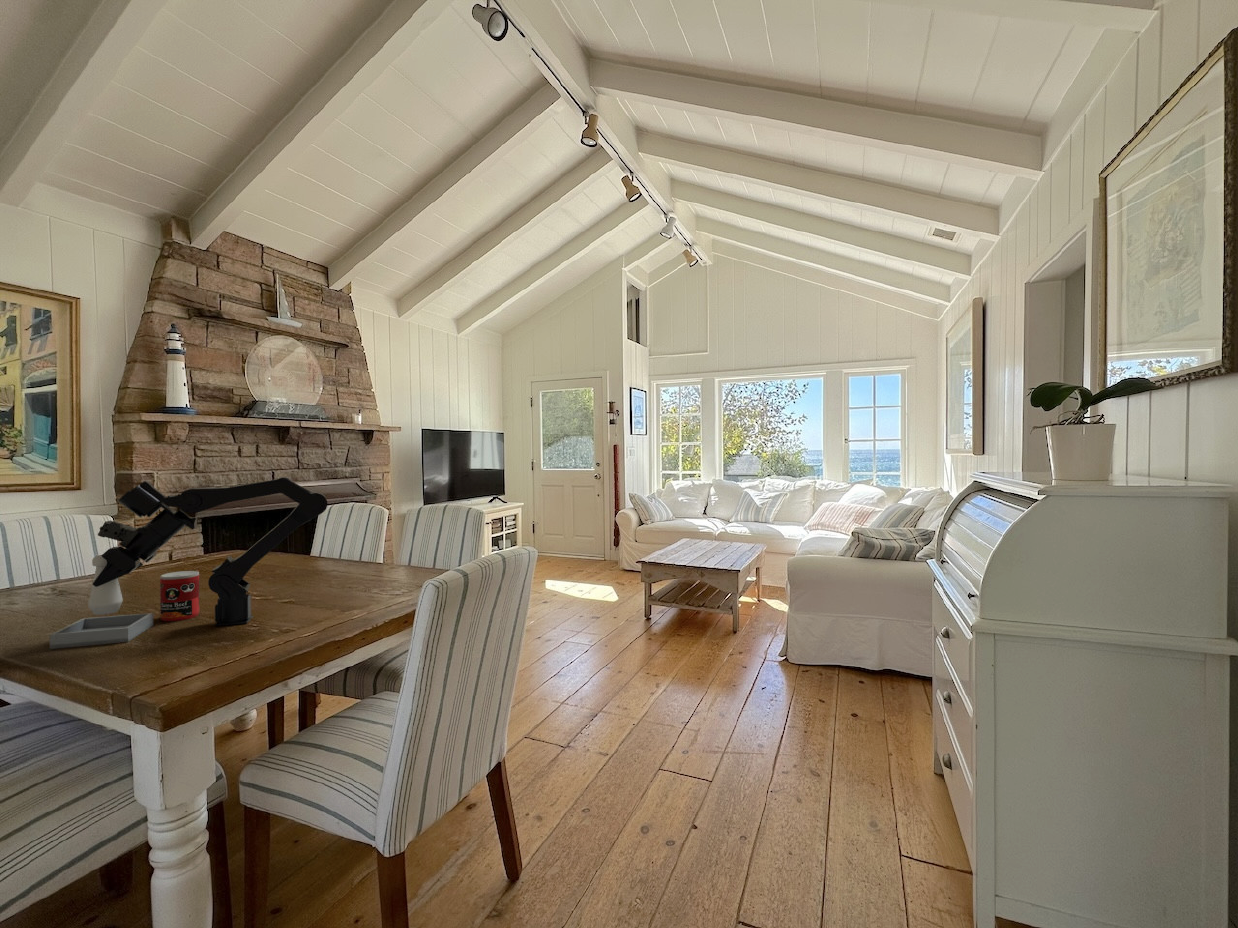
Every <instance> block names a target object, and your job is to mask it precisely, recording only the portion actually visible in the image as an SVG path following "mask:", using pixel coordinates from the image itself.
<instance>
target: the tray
mask: <svg viewBox="0 0 1238 928" xmlns="http://www.w3.org/2000/svg"><path fill="white" fill-rule="evenodd" d="M153 626H154V612H149V613H136V614H134V613H133V614H122V615H121V614H120V615H112V616H99V617H98V616H97V617H95V616H94V617H86V618H81V619H79V620H77V621H75V622H73V623H71V624H69V625H67V626H65V627H63V628H61V629H58V630H57V631H54V632H52V633H50V634H49V650H54V649H66V648H77V647H85V646H96V645H98V646H99V645H108V644H120V643H129V642H130V641H132V640H133V639H135V638H136V637H138V636H139V635H140V634H141V635H142V634H143V633H144V632H145V631H147V630H149V629H150V628H151V627H153Z"/></svg>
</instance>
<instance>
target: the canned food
mask: <svg viewBox="0 0 1238 928" xmlns="http://www.w3.org/2000/svg"><path fill="white" fill-rule="evenodd" d="M159 582H160V585H159V591H160V592H159V593H160V595H159V597H160V598H159V599H160V600H159V601H160V605H159V607H160V609H159V610H160V612H159V613H160V614H159V615H160V619H161V620H162V621H164V622H177V621H178V622H179V621H184V620H189V619H192V618H195V617H197V616H198V615H199V613H200V572H199V571H198V570H185V571H184V570H183V571H174V572H167V573H164V574H162V575H160V579H159Z"/></svg>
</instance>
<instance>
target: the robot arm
mask: <svg viewBox="0 0 1238 928" xmlns="http://www.w3.org/2000/svg"><path fill="white" fill-rule="evenodd" d="M278 494H282V495H284V496H286V497H287V498H290V499H291V500H292V501H294V502H296V503H298V504H297V505H296V507H295V508H294V509H292V511H291V513H290V514H288V516H287V517H285V518H284V519H283V520H281V522H279V523H278V524H277V525H276V526H275V527H274V528H272V529H271V530H270V531H269V532H268V533H266V534H265V535H264V536H263V537H262V538H260V539H259V540H258V541H256V542H255V544H253V545H252V546H251V547H250V548H249V549H247V550H246V551H245V552H244V553H242V554H241V555H238V556H237V557H235V558H233V557H232V556H231V555H228V556H227V558H226V559H225V560H224V561H223V562H222V563H221V564H219V565H217V566H215V567H214V568H213V569H212V570H211V573H212V574H211V575H210V576H209V579H208V581H207V582H208V587H209V589H210V590H211V592H214V593H215V594H216V595H217V596H218V598H217V604H215V605H214V622H215V624H214V625H215V627H220V626H230V625H231V626H233V625H243V624H247V623H248V622H249V621H250V620H252V619H253V617H254V616H253V614H252V596H251V595H252V594H251V593H248V591H249V589H250V587H251V583H249V582H248V581H247V580H245V579H244V577H245V576H246V575H247V574H248V573H249V571H250V570H251V569H252V568H253V567H254V566H255V565H256V564H257V563H258V562H259V561H260V560H262V559H263V558H264V557H266V555H268V554H269V553H270V552H271V551H272V550H274V548H276V547H277V546H278V545H279V544H280V543H282V542H283V541H284V540H285V539H287V538H288V536H290V535H291V534H293V532H294V531H296V530H297V529H298V528H299V527H300V526H303V525H304V524H306V523H308V522H310V521H312V520H313V519H315V518H316V517H318V516H320V515H322V514H323V513H324V512H325V511H326V510H327V508H328V500H327V497H326V496H325V495H324V494H322V492H318V491H310V490H308V489H307V488H305V487H303V486H301V485H299V484H298V483H296V482H294V481H292V479H291V478H289V477H286V476H285V477H284V476H283V477H279V478H277V479H271V480H270V479H269V480H265V481H259V482H253V483H251V482H250V483H246V484H239V485H235V486H230V487H229V486H228V487H194V488H190V489H186V490H184V491H182V492H181V493H180V494H178V495H174V494H170V495H165V494H164V493H162V492H161V491H160V490H158V489H157V488H156V487H155V486H154V485H153V484H152V483H151V482H149V481H148V480H146V481H142V482H141V483H140V484H139V485H136V486H135V487H133V488H132V489H131V490H128V491H127V492H125V493H124V494H123V495H122V496H121V497H120V498H119V499H118V500H117V502H118V503H119V504H120V505H122V506H123V507H125V508H126V509H127V510H129V511H130V512H132V513H133V514H135V515H136V516H137V517H138V518H140V519H141V518H143V517H144V518H145V517H147V518H148V519H149V518H151V517H152V516H154V515H156V516H154V517H153V518H152V519H151V520H150V521H148V522H147V523H146V524H145V525H142V526H139V527H138V528H136V527H133V526H130V525H127V524H124V523H122V522H117V521H115V520H107V521H104V523H103V525H102V526H100V527H99V532H97V536H98V537H101V538H107V539H111V540H115V541H117V542H119V543H118V545H119V546H113V547H112V546H111V548H108V549H107V550H106V551H105V552H103V554H100V555H101V556H102V557H103V558H104V559H106V560H107V565H106V566H105V568H104V569H103V570H102V572H101V573H100V574H99V576H98V577H97V578H96V580H95V581H94V582H93V581H92V584H93V585H94V586H95V587H98V586H100V585H103V584H105V583H107V582H110V581H112V580H114V579H117V578H118V579H119V578H121V577H123V576H126V575H129V574H130V573H133V572H134V571H135V570H136V569H139V568H140V567H143V566H144V563H147V564H148V563H149V562H150V561H152V560H153V559H154V558H155V557H156V556H157V551H158V550H159V549H161V548H162V547H163V546H165V545H166V544H167V543H169V541H170V540H171V539H172V538H173V537H174V536H176V535H177V534H178V533H179V532H181V530H183V529H184V528H185V527H188V528H189V529H190V530H195V529H196V528H198V517H197V516H194V517H191V516H189V515H188V514H198V513H201V512H204V511H206V510H209V509H213V508H215V507H219V506H221V505H224V504H228V503H232V502H238V501H244V500H250V499H254V498H255V499H256V498H259V497H260V498H261V497H265V496H271V495H278ZM173 508H178V509H179V510H175V509H173ZM161 509H162V510H161ZM160 510H161V511H160ZM159 511H160V512H159ZM158 512H159V513H158ZM157 513H158V514H157ZM140 560H142V561H143V562H144V563H143V562H141V561H140Z"/></svg>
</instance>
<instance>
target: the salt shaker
mask: <svg viewBox="0 0 1238 928" xmlns="http://www.w3.org/2000/svg"><path fill="white" fill-rule="evenodd" d="M101 555H102V554H99V555H96V556H93V558H92V561H91V562H92V563H91V564H92V566H93V567H95V572H94V576H93V580H92V583H91V584H92V585H91V589H90V593H89V598H88V601H87V607H88V608H89V609H90V611H91V612H92V613H93V615H94V616H101V615H102V616H103V615H105V616H106V615H109V614H110V615H111V614H115V613H117V612H118V611H119V610H120V608H121V605H122V603H123V601H124V600H123V599H124V598H123V595H122V591H121V587H120V582H119V578H117V579H114V580H112V581H110V582H107V583H105V584H103V585H100V586H98V587H95V586H94V585H93V582H94V581H95V580H96V578H97V577H98V576H99V574H100V573H101V572H102V570H103V569H104V568H105V566H106V565H107V560H106V559H104V558H103V557H102V556H101Z"/></svg>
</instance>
